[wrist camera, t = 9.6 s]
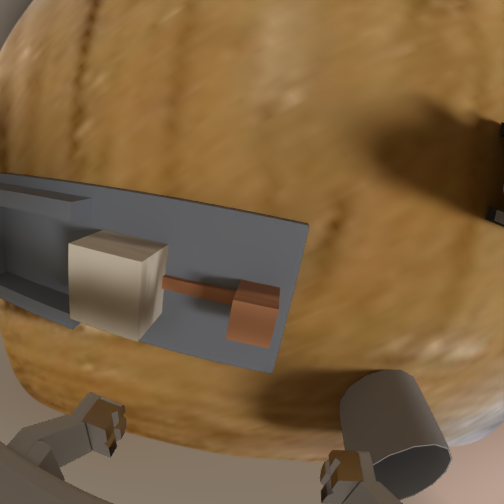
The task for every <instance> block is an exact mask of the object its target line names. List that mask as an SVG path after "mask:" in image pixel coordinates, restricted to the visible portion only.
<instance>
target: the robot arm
mask: <svg viewBox="0 0 504 504" xmlns="http://www.w3.org/2000/svg"><path fill="white" fill-rule="evenodd" d="M124 413H125V406H124V405H121V404H119V403H116V402H114V401H111V400H109V399H107V398H104V397H102V396H99V395H97V394H95V393H92V392H90V393H88V394H87V395H86V397H85V398H84V399H83V400H82V402H81V403H80V404H79V405H78V407H77V408H76V409H75V410H74V412H73V413H72V414H71V415H68V414H67V415H64V416H61V417H57V418H54V419H51V420H48V421H45V422H41V423H38V424H34V425H31V426H28V427H24V428H22V429H21V430H20V431H19V432H18V433H17V435H16V436H15V437H14V438H13V439H12V440H11V441H10V443H9V444H8V445H7V446H6V445H5V444H3V443H2V442H0V504H113V503H110V502H108V501H106V500H103V499H101V498H98V497H96V496H94V495H92V494H90V493H87V492H85V491H83V490H81V489H79V488H77V487H75V486H73V485H71V484H69V483H67V482H65V479H64V476H63V474H62V472H61V470H60V467H62V466H63V465H66V464H68V463H70V462H72V461H74V460H76V459H77V458H80V457H82V456H83V455H85V454H87V453H89V452H91V451H92V450H93V451H95V452H98V453H100V454H103V455H105V456H108V457H111V456H112V454H113V453H114V451H115V449H116V448H117V443H116V441H118V440H120V439H122V437H123V435H124V433H125V430H126V418H125V417H124V416H123V415H124ZM320 482H321V483H322V484H323V486H324V487H323V488H322V490H321V503H323V504H403V503H401V502H400V501H399V500H398V499H397V498H396V497H395V496H394V495H393V494H392V493H391V492H390V491H389V490H388V489H387V488H386V487H385V486H384V485H382V484H381V483H380V482H376V478H375V474H374V469H373V465H372V460H371V456H370V453H369V452H366V451H344V450H332V451H331V452H330V454H329V460H327V461H325V462H324V464H323V466H322V469H321V474H320Z"/></svg>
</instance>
